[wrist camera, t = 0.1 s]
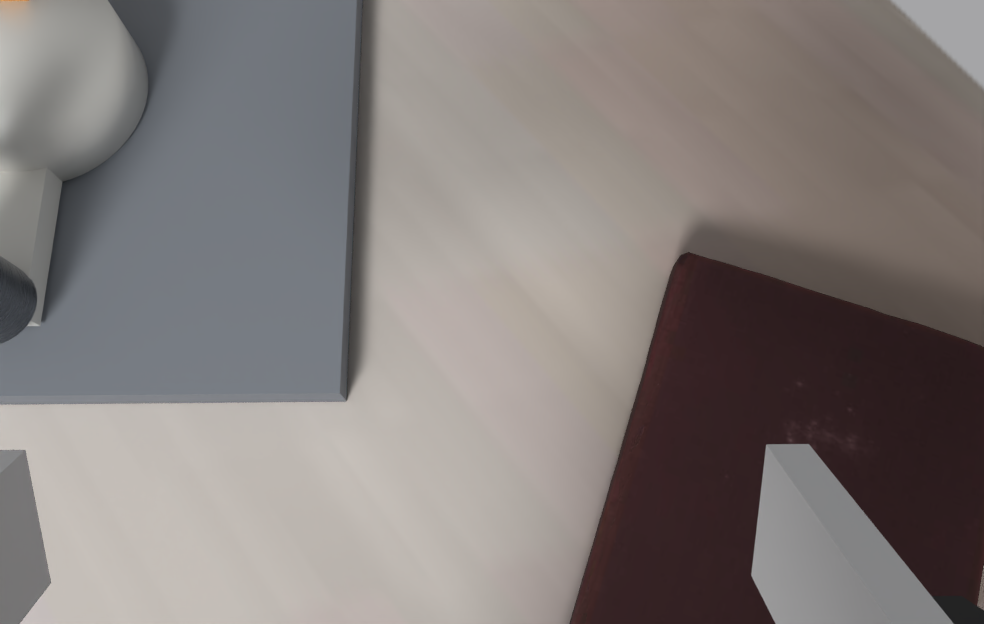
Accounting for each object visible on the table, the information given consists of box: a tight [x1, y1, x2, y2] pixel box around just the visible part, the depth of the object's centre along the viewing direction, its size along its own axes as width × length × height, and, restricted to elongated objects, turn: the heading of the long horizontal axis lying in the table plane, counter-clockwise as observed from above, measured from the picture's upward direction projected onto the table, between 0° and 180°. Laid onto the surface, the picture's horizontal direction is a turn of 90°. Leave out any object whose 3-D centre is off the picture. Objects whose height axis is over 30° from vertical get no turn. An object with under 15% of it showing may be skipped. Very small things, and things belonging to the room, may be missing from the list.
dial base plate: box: [0, 0, 363, 404], centre depth 32 cm, size 24×24×6 cm
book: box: [570, 252, 984, 624], centre depth 29 cm, size 12×19×3 cm, turn 161°
